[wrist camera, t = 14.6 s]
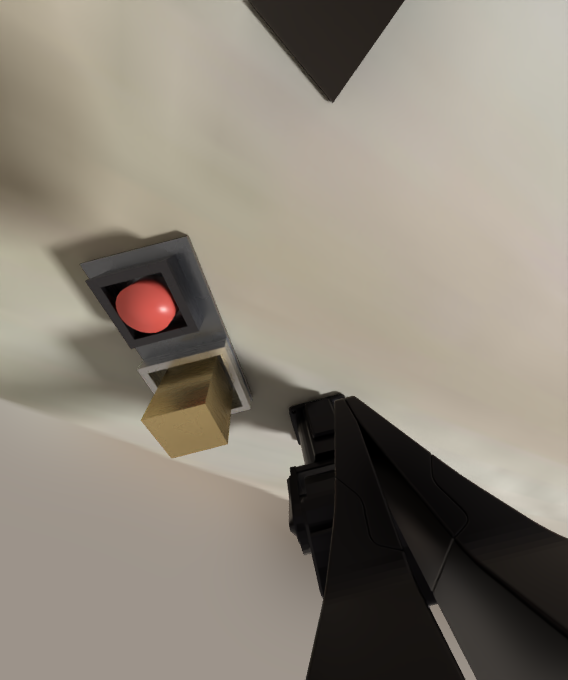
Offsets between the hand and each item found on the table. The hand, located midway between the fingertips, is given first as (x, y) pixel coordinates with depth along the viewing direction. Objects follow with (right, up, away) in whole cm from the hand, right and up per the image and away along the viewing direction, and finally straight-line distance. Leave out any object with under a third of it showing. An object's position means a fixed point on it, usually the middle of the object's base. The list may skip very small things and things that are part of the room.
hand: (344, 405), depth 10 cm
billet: (-10, -1, +12) cm, 16 cm away
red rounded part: (-12, +6, +8) cm, 16 cm away
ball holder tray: (-11, +3, +11) cm, 16 cm away
